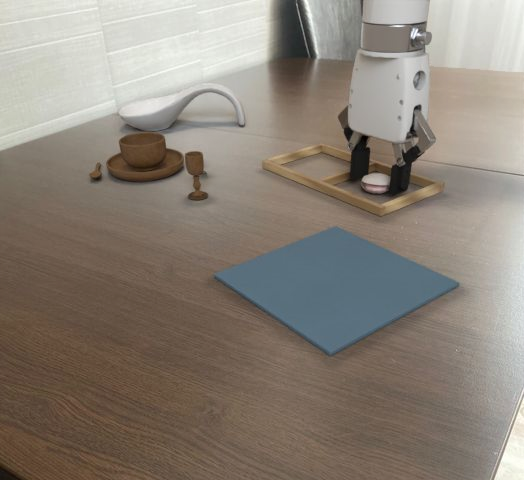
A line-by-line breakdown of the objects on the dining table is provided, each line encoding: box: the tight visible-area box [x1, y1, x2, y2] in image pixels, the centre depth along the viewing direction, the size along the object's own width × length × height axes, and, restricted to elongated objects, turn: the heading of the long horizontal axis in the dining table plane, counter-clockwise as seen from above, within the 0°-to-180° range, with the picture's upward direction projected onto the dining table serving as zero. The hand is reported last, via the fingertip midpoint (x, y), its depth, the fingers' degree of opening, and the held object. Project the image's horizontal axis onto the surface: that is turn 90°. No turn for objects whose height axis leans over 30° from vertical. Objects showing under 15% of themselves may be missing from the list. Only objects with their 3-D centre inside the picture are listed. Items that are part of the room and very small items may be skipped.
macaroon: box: [360, 172, 391, 195], centre depth 76 cm, size 4×5×2 cm
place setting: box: [88, 131, 209, 201], centre depth 81 cm, size 18×20×6 cm
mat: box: [213, 225, 460, 357], centre depth 58 cm, size 18×18×1 cm
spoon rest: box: [117, 82, 246, 132], centre depth 103 cm, size 24×12×7 cm, turn 91°
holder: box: [261, 142, 445, 217], centre depth 81 cm, size 13×24×1 cm, turn 38°
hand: (378, 183), depth 77 cm, fingers open, 6 cm apart
